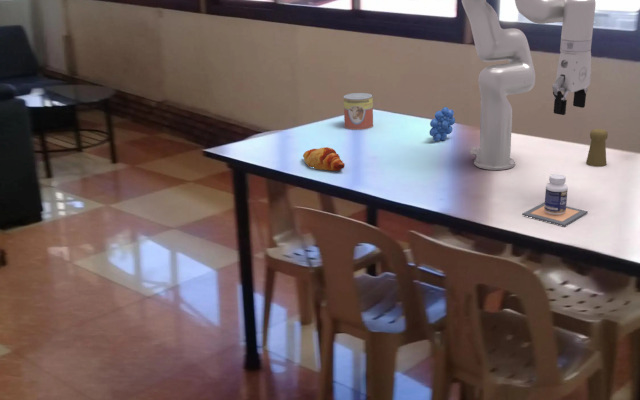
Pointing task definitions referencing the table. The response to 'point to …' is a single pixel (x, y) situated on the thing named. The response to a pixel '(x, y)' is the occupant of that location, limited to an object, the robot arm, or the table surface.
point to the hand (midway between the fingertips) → (569, 110)
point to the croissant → (323, 159)
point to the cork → (597, 148)
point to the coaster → (563, 219)
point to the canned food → (358, 111)
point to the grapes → (442, 124)
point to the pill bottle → (556, 195)
